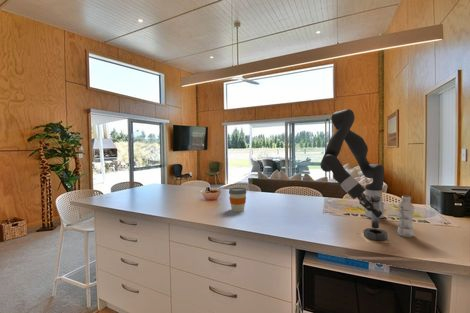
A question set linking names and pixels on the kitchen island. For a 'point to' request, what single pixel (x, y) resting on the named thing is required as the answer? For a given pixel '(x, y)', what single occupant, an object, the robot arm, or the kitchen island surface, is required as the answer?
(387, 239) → the oak base plate
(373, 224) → the steel key rod
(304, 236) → the kitchen island surface
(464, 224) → the kitchen island surface
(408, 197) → the plastic bottle
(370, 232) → the chuck collar
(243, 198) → the reusable coffee cup
